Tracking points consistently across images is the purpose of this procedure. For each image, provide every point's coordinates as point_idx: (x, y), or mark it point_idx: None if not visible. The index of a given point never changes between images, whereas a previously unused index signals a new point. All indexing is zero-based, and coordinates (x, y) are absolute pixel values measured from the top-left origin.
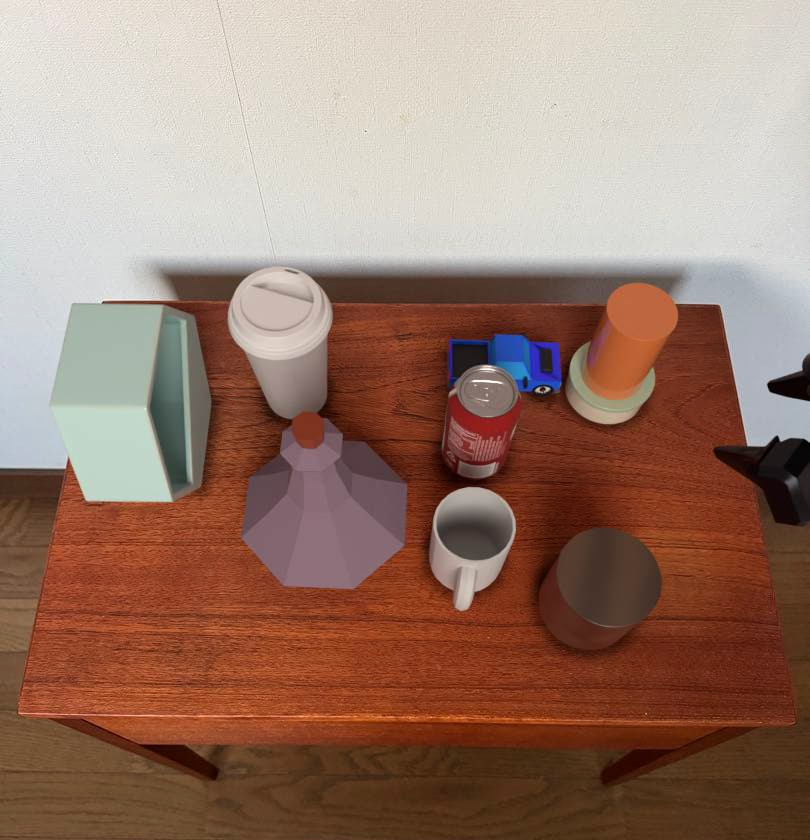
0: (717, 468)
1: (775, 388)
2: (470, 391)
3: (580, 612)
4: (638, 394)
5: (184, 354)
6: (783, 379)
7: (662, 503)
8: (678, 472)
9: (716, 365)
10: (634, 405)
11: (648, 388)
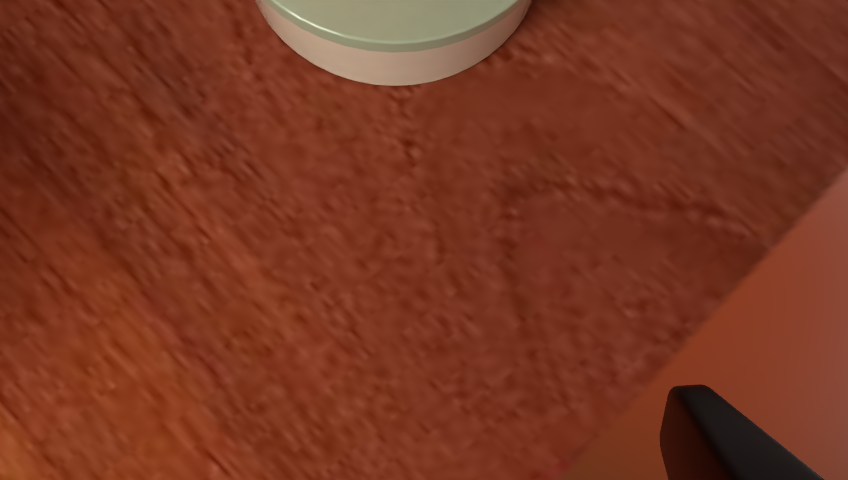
0: (431, 462)
1: (684, 460)
2: None
3: None
4: (387, 5)
5: None
6: (748, 471)
7: (143, 398)
8: (304, 359)
9: (808, 174)
10: (331, 25)
11: (443, 16)
